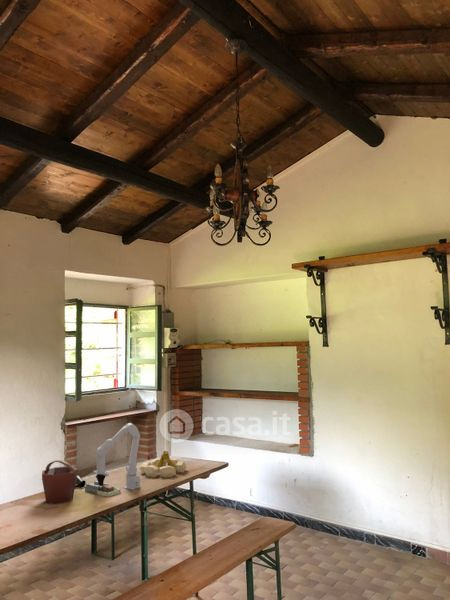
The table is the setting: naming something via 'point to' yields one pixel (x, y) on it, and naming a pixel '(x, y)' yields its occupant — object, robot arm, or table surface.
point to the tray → (116, 491)
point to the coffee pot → (80, 482)
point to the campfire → (163, 466)
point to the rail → (93, 487)
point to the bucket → (59, 483)
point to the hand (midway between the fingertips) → (100, 485)
